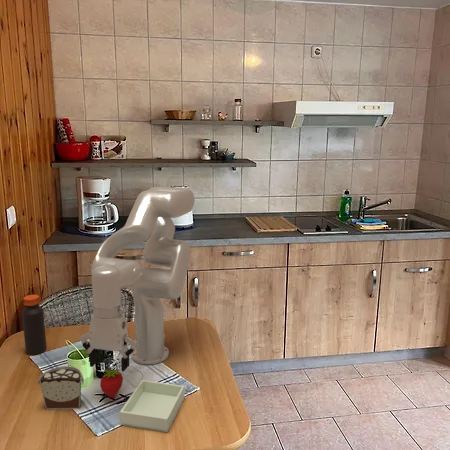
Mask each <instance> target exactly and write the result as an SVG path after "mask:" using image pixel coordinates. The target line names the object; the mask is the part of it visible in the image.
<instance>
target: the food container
mask: <svg viewBox="0 0 450 450" xmlns="http://www.w3.org/2000/svg"><path fill="white" fill-rule="evenodd" d="M84 382H85V381H84V376H83V373H82V372H81V370H80V369H79V368H77V367H74V366H65V365H64V366H58V367H55V368H51V369H49V370H47V371H44V372H43V373H42V374H40V376H39V378H38V381H37V385H39V384H40V389H41V393H42V398H43V402H44V407H45V410H80V408H81V399H82V398H81V397H82V385H83V384H84Z"/></svg>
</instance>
